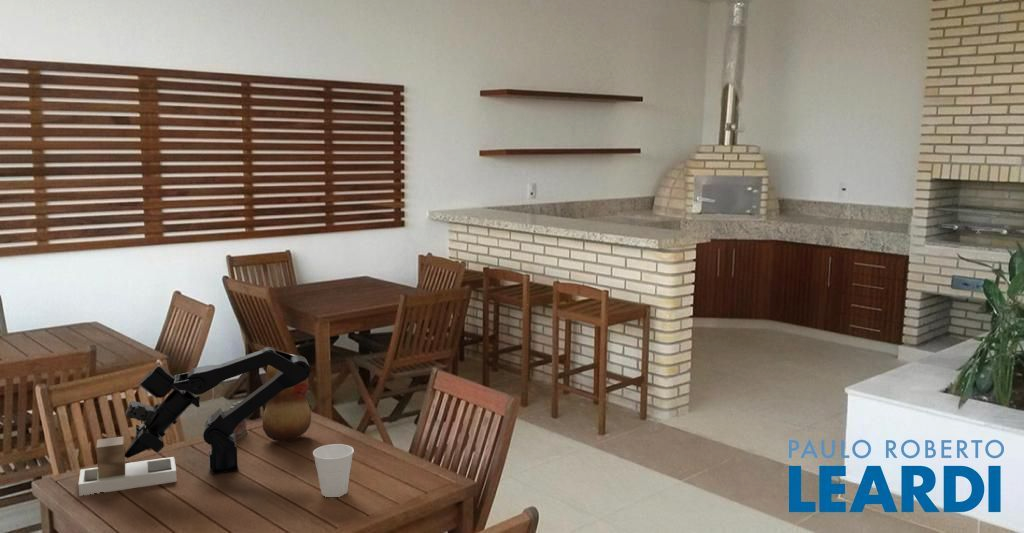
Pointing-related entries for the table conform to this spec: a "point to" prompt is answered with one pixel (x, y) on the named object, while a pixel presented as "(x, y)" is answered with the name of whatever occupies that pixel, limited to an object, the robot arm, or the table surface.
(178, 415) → the robot arm
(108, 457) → the walnut block
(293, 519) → the table surface
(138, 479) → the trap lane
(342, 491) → the cup
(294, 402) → the butternut squash
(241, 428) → the lighter
